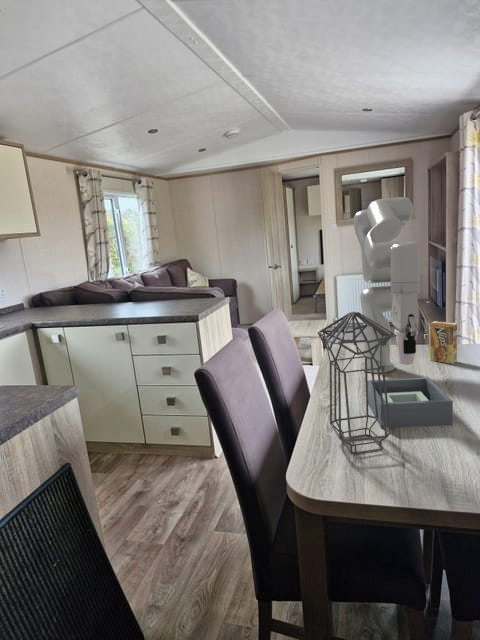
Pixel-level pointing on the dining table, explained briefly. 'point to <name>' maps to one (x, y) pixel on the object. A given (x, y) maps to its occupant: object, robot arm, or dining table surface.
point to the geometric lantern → (344, 322)
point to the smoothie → (403, 358)
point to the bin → (411, 403)
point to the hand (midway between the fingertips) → (405, 349)
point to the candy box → (443, 342)
